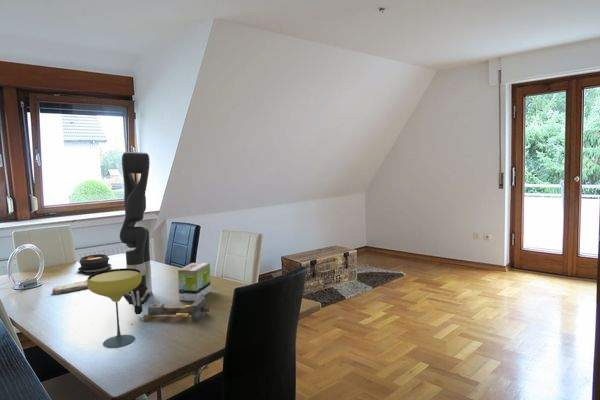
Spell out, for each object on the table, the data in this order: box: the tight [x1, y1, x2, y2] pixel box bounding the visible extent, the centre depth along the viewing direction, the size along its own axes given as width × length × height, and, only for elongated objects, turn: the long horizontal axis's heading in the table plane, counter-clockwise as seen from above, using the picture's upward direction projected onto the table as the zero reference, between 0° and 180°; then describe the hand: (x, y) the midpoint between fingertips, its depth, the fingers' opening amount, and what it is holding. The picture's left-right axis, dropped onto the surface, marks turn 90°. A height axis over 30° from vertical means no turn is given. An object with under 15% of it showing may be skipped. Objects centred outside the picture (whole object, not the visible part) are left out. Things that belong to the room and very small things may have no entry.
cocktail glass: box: [86, 267, 142, 349], centre depth 153 cm, size 18×18×25 cm
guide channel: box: [142, 296, 210, 324], centre depth 177 cm, size 26×11×7 cm, turn 84°
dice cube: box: [147, 302, 165, 315], centre depth 178 cm, size 5×5×5 cm
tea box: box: [177, 262, 212, 302], centre depth 204 cm, size 15×10×15 cm
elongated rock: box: [52, 279, 89, 295], centre depth 226 cm, size 35×5×10 cm
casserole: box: [77, 253, 112, 273], centre depth 260 cm, size 25×19×8 cm
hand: (138, 313), depth 179 cm, fingers closed
